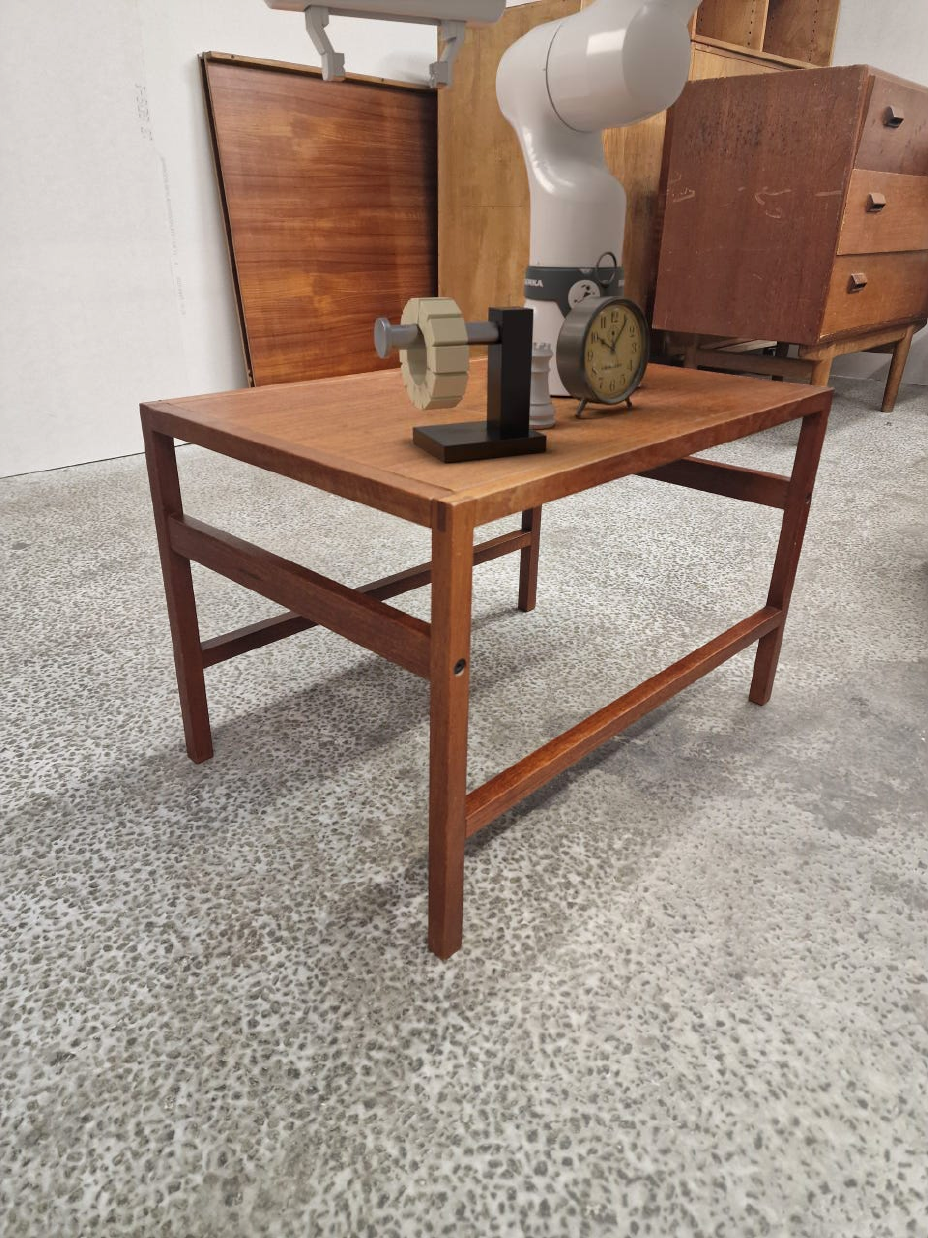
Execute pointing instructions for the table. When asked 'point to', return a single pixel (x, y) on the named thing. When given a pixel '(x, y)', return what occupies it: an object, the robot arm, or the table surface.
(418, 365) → the notched ring
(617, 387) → the alarm clock
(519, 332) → the peg stand
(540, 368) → the rook chess piece
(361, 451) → the table surface
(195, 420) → the table surface
